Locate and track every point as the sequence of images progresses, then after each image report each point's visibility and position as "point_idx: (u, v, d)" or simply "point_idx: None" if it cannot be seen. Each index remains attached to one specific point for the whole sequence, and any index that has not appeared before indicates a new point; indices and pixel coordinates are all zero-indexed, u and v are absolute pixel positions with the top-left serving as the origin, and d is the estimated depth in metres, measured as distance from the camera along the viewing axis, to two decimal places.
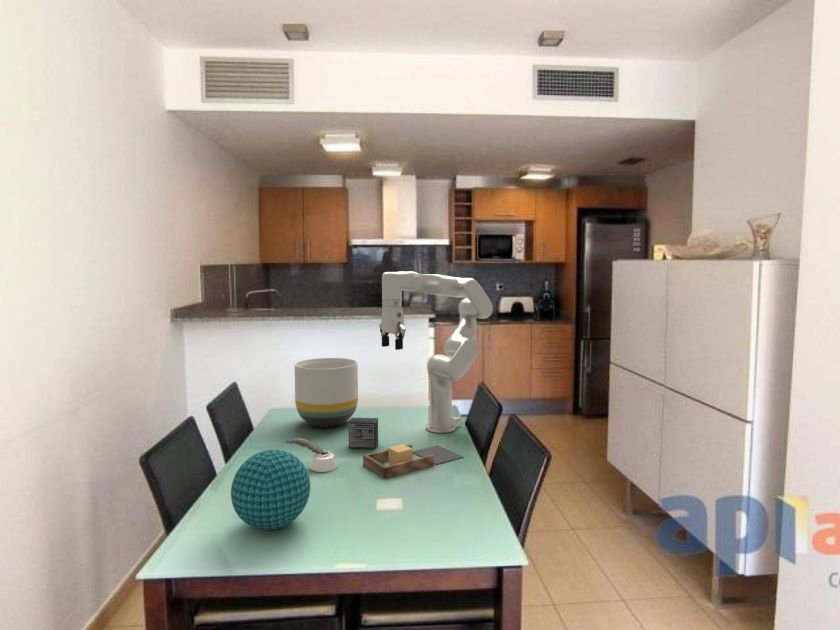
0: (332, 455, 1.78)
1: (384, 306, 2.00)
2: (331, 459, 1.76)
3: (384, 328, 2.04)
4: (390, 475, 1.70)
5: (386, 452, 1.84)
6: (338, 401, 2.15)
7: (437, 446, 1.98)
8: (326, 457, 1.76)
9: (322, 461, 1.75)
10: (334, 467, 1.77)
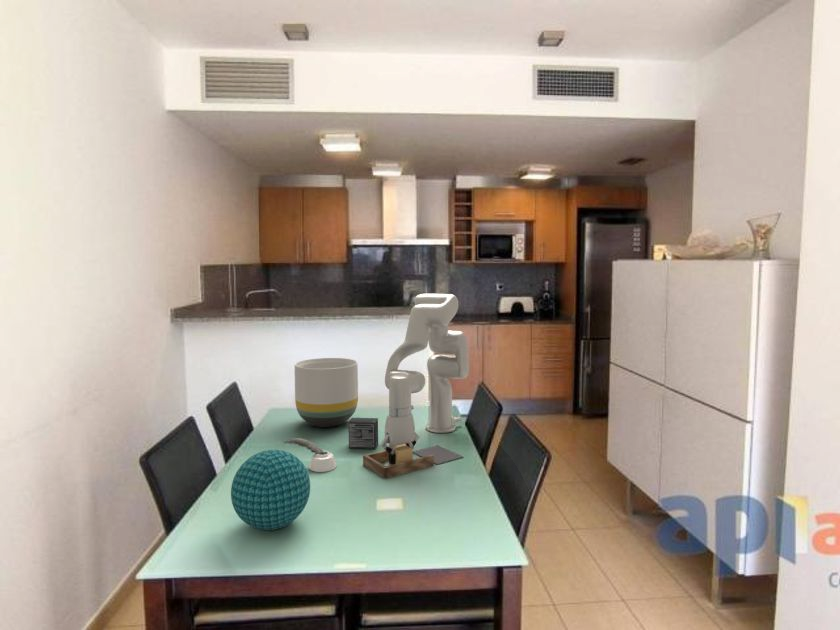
0: (331, 455, 1.78)
1: (407, 415, 1.76)
2: (330, 459, 1.76)
3: (398, 441, 1.77)
4: (390, 475, 1.70)
5: (386, 452, 1.84)
6: (338, 401, 2.15)
7: (437, 446, 1.98)
8: (325, 457, 1.76)
9: (321, 461, 1.75)
10: (333, 467, 1.77)
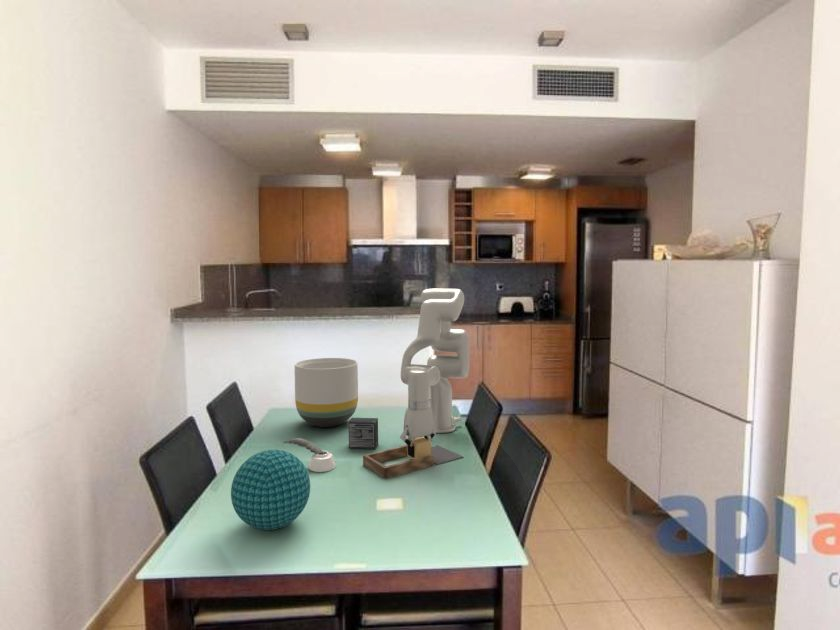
0: (330, 455, 1.78)
1: (426, 408, 1.81)
2: (329, 459, 1.76)
3: (417, 433, 1.81)
4: (390, 475, 1.70)
5: (386, 452, 1.84)
6: (338, 401, 2.15)
7: (437, 446, 1.98)
8: (324, 457, 1.76)
9: (320, 461, 1.75)
10: (332, 467, 1.77)
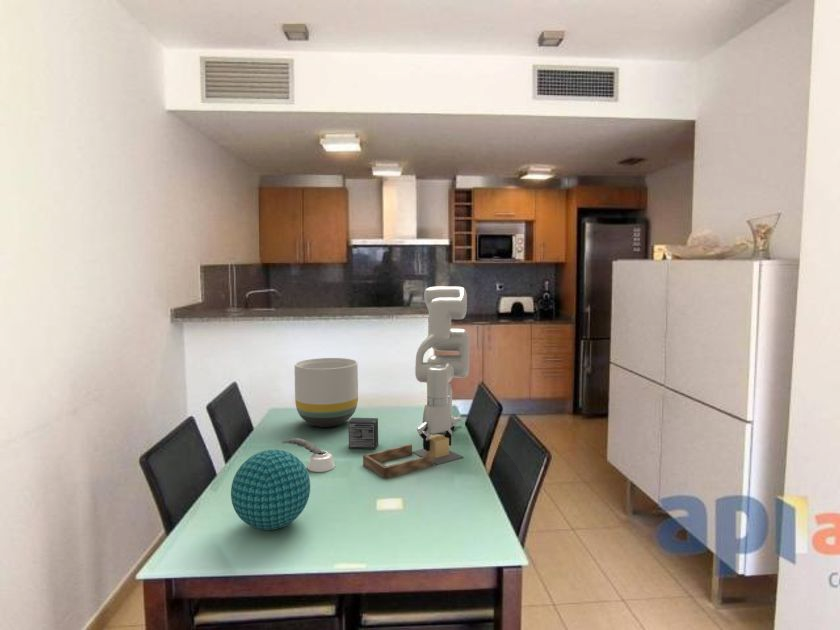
0: (329, 455, 1.78)
1: (444, 405, 1.86)
2: (328, 459, 1.76)
3: (436, 429, 1.86)
4: (390, 475, 1.70)
5: (386, 452, 1.84)
6: (338, 401, 2.15)
7: None
8: (323, 457, 1.76)
9: (319, 461, 1.75)
10: (331, 467, 1.77)
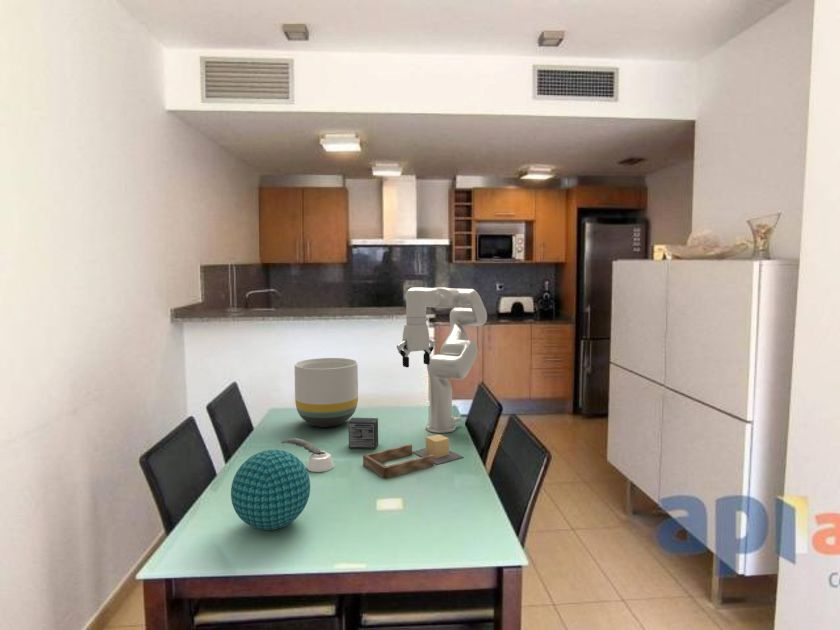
0: (329, 455, 1.78)
1: (422, 324, 1.97)
2: (327, 459, 1.76)
3: (414, 347, 1.98)
4: (390, 475, 1.70)
5: (386, 452, 1.84)
6: (338, 401, 2.15)
7: None
8: (322, 457, 1.76)
9: (318, 461, 1.75)
10: (330, 467, 1.77)
